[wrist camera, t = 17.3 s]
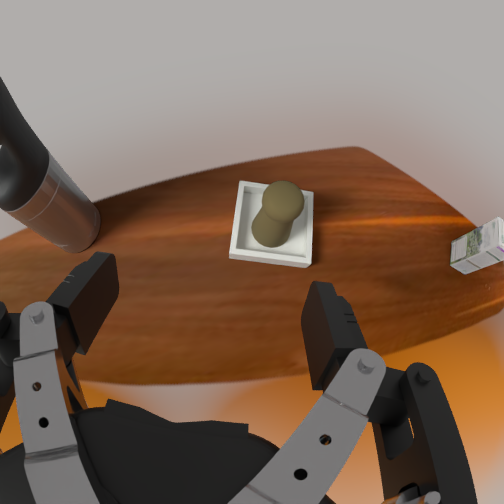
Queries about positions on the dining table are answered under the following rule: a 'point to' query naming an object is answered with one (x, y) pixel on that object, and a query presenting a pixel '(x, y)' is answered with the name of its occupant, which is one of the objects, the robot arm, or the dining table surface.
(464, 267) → the syrup box
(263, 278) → the dining table surface
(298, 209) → the cork
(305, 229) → the keeper tray
